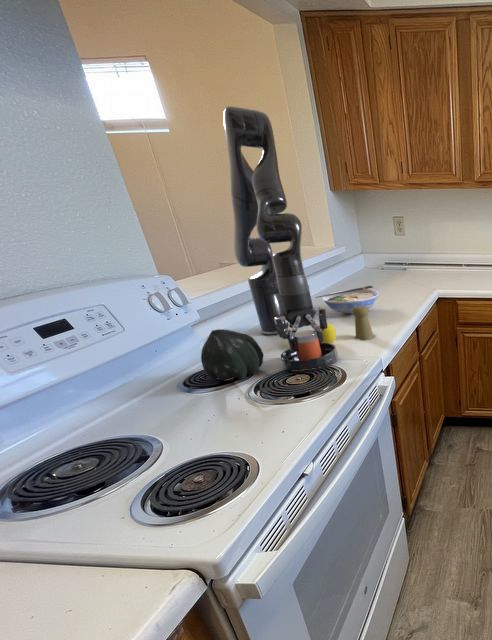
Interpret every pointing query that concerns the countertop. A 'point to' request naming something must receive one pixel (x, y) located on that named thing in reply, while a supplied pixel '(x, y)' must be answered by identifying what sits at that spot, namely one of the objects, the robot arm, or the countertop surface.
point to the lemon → (329, 334)
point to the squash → (230, 355)
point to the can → (307, 345)
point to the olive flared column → (362, 323)
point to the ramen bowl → (351, 299)
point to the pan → (324, 361)
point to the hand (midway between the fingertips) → (307, 347)
